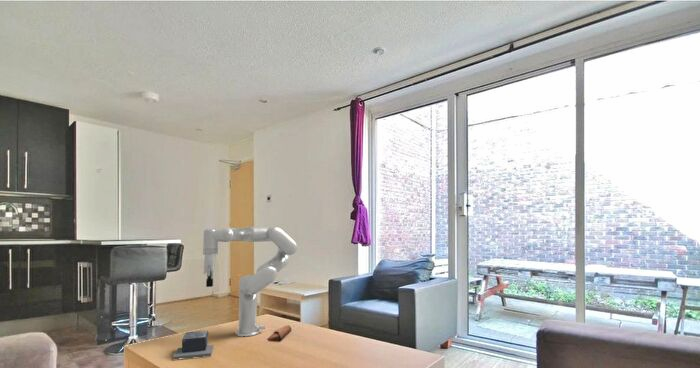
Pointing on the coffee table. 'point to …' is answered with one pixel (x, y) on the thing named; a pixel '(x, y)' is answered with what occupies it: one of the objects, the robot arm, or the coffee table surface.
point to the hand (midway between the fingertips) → (209, 286)
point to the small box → (195, 341)
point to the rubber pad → (193, 353)
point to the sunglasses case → (280, 333)
